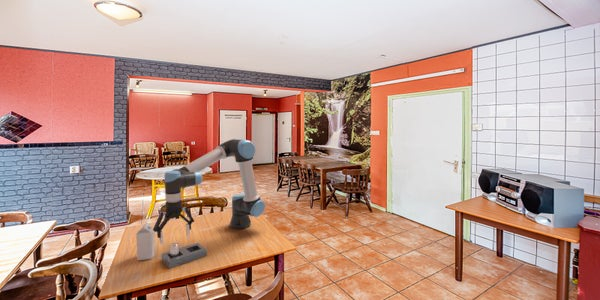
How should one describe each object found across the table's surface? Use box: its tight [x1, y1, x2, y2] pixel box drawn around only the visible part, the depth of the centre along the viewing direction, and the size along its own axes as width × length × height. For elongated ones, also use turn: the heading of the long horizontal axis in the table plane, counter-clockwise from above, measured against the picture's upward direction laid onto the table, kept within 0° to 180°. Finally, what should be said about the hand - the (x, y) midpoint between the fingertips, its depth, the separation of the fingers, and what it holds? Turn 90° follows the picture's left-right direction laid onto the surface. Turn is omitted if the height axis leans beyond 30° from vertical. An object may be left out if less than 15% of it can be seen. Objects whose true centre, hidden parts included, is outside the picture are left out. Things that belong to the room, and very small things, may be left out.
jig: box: [161, 242, 208, 269], centre depth 146 cm, size 20×12×4 cm, turn 134°
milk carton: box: [135, 221, 156, 261], centre depth 145 cm, size 7×7×19 cm
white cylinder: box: [169, 242, 180, 258], centre depth 142 cm, size 4×4×9 cm
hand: (175, 239), depth 141 cm, fingers open, 13 cm apart
